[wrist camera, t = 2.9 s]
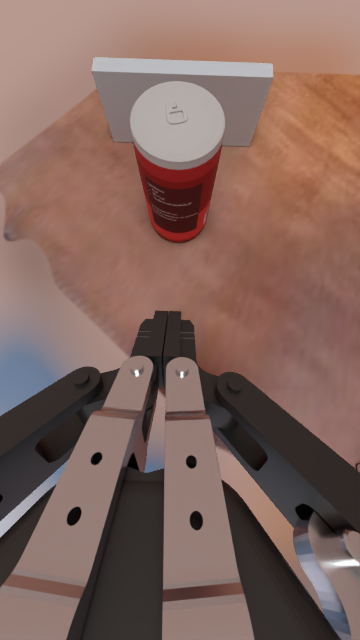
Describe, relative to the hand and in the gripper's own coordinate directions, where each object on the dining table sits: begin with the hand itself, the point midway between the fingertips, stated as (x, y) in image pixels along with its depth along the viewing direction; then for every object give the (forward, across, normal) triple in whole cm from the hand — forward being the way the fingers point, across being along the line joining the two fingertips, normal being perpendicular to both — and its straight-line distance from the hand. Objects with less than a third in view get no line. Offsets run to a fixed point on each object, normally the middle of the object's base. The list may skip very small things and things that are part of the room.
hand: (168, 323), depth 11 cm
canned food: (+20, 0, -3) cm, 20 cm away
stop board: (+31, 0, -14) cm, 34 cm away
